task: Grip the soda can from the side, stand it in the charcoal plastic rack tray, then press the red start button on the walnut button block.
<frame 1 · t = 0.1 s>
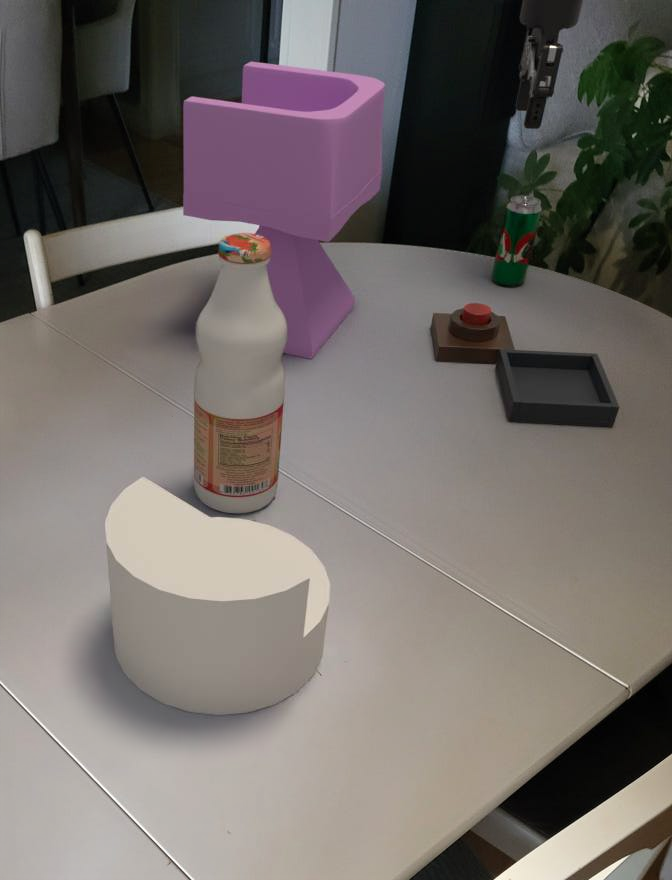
hand: (527, 118, 137), 22 cm above the table, tool pointing down, fingers open, 8 cm apart
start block: (469, 345, 135), on the table
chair: (276, 321, 141), on the table
rack tray: (551, 396, 125), on the table
soda can: (507, 282, 150), on the table
sandwich: (222, 404, 124), on the table
fruit juice: (235, 492, 110), on the table
notched white cylinder: (218, 638, 93), on the table
start button: (476, 314, 132), point 4 cm above the table, slide at 0.1 cm
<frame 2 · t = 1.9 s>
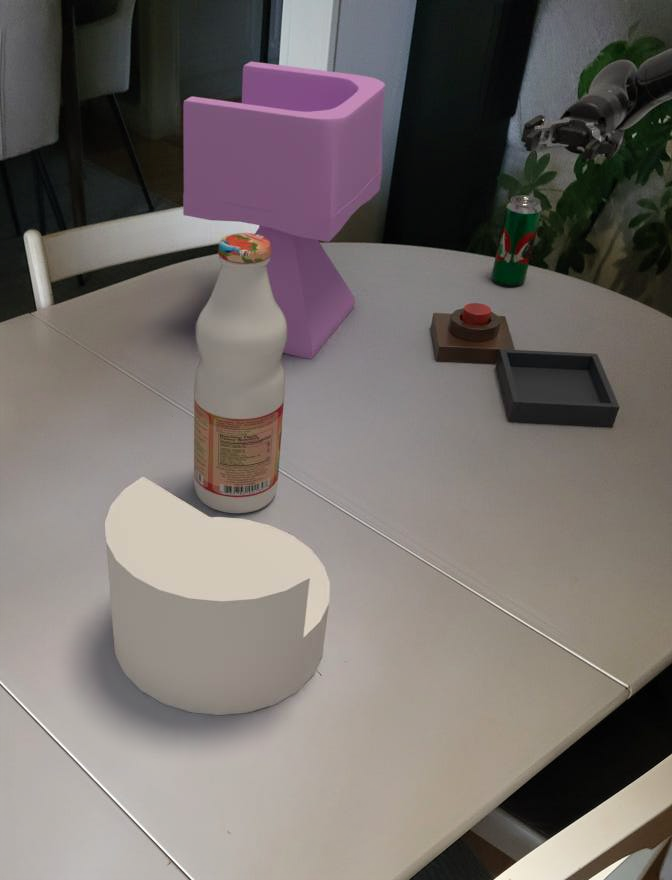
hand: (557, 149, 146), 16 cm above the table, tool horizontal, fingers open, 8 cm apart
nothing on the table moved.
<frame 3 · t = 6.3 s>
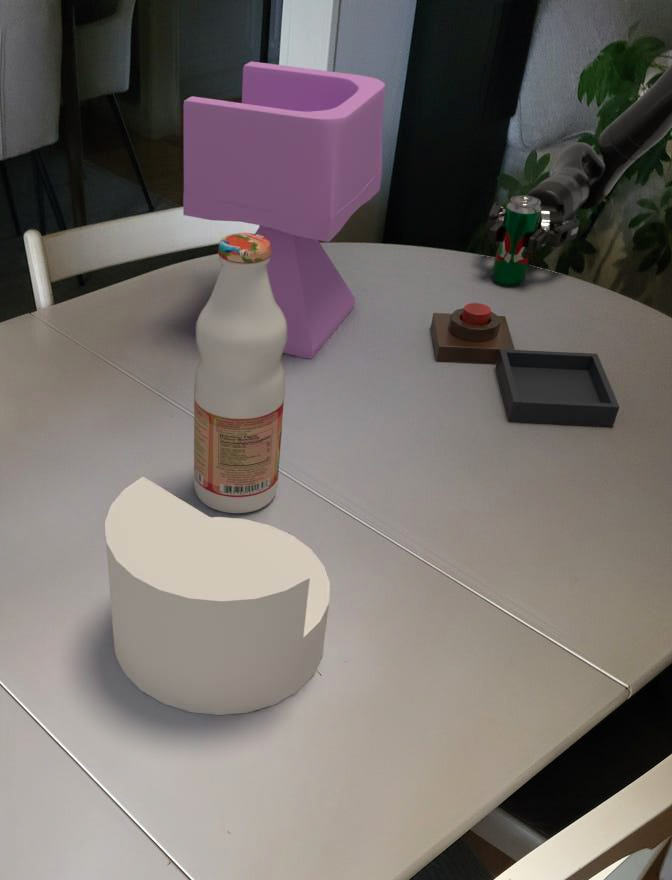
hand: (511, 240, 144), 7 cm above the table, tool horizontal, fingers closed on soda can, 5 cm apart
soda can: (507, 282, 150), on the table, touching gripper
everything else where it was.
when the fingers open (8 cm above the table, at t = 16.3 s): soda can stays where it is, resting on rack tray.
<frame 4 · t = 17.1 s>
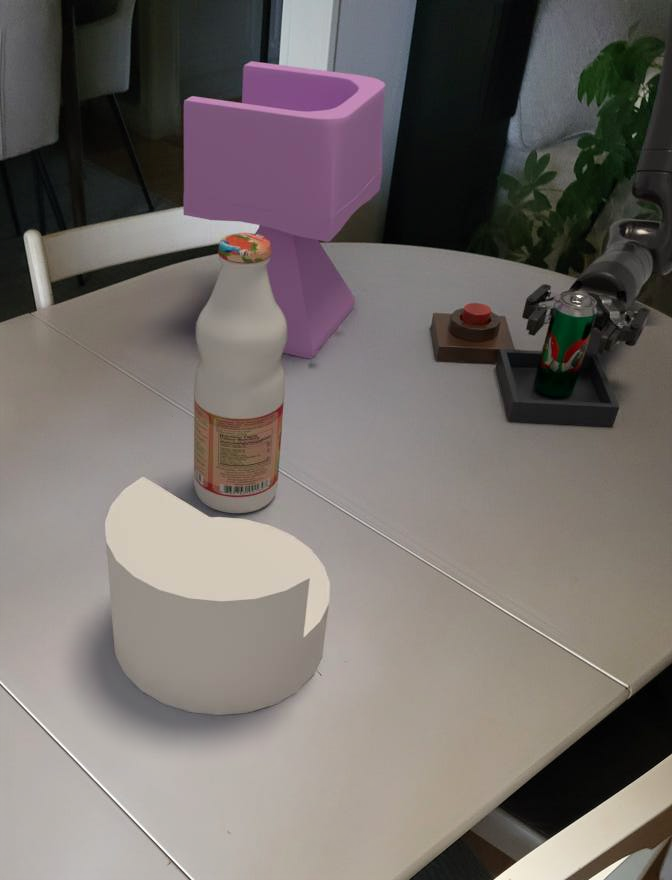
hand: (567, 336, 118), 9 cm above the table, tool horizontal, fingers open, 8 cm apart
soda can: (551, 391, 125), point 1 cm above the table, touching rack tray
everything else where it was.
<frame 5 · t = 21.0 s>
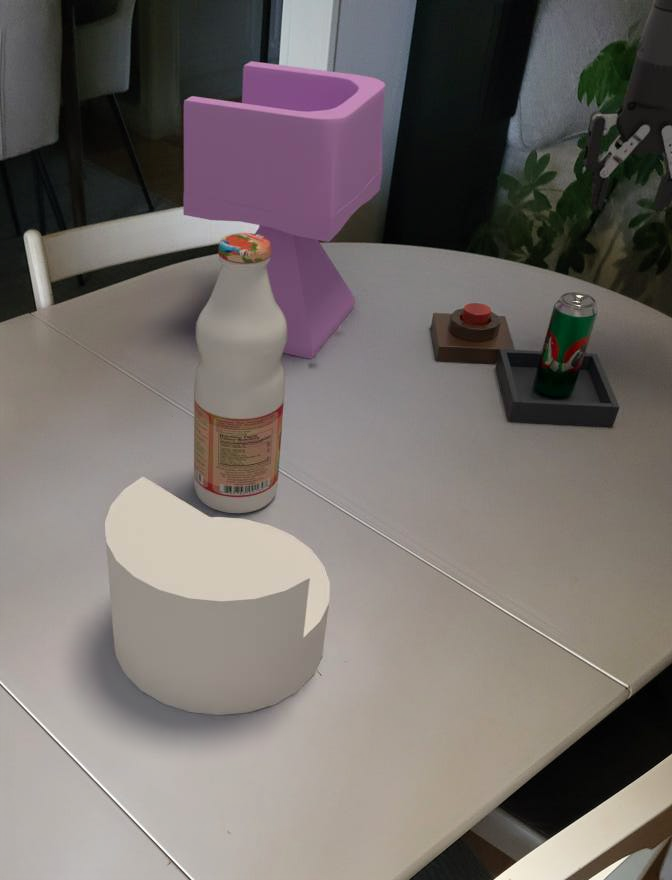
hand: (627, 208, 120), 20 cm above the table, tool pointing down, fingers open, 6 cm apart
nothing on the table moved.
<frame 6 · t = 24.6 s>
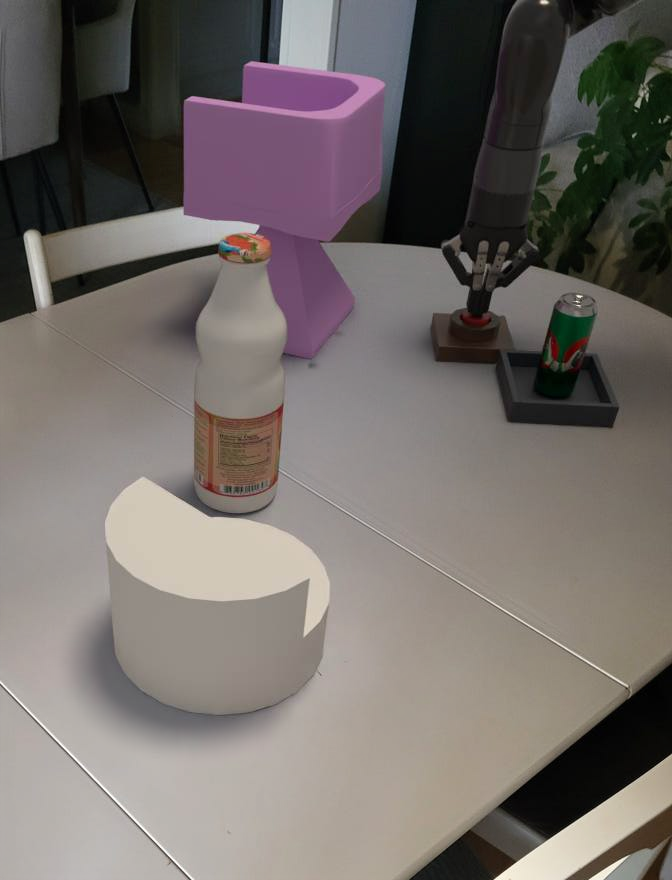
hand: (475, 314, 132), 5 cm above the table, tool pointing down, fingers closed
start button: (475, 320, 133), point 4 cm above the table, slide at -0.7 cm, touching gripper
everything else where it was.
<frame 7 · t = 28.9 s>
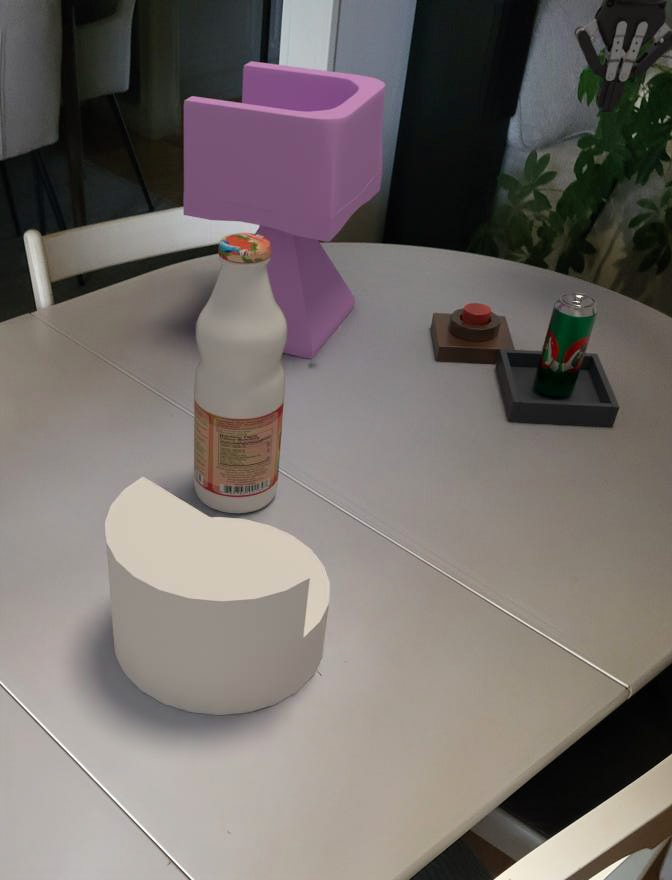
hand: (605, 110, 130), 25 cm above the table, tool pointing down, fingers closed
start button: (476, 314, 132), point 4 cm above the table, slide at 0.1 cm
everything else where it was.
at the end: soda can inside the target area in the rack tray (0.2 cm from its centre), point 0.6 cm above the rack tray's base; soda can tilted 0°; start button pushed in 1.1 cm at the most during the clip, back to where it started at the end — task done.
